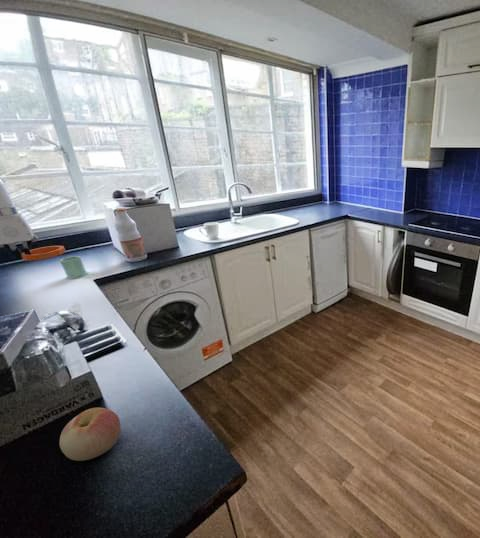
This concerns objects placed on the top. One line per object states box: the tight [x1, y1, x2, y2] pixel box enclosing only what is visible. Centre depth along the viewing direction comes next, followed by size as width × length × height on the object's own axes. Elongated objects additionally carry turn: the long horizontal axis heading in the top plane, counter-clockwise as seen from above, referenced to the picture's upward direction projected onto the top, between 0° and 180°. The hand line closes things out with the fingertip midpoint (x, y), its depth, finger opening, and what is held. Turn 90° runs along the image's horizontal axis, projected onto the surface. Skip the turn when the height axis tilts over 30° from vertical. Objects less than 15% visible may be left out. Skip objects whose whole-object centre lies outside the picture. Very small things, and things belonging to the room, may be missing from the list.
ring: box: [21, 245, 66, 262], centre depth 121 cm, size 12×12×2 cm
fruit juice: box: [113, 207, 148, 263], centre depth 156 cm, size 9×9×28 cm
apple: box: [59, 406, 121, 462], centre depth 58 cm, size 9×9×8 cm
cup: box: [59, 255, 88, 280], centre depth 140 cm, size 7×7×9 cm
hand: (25, 257), depth 117 cm, fingers closed on ring, 1 cm apart
